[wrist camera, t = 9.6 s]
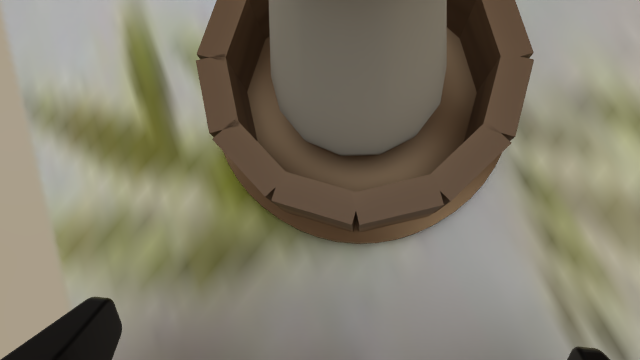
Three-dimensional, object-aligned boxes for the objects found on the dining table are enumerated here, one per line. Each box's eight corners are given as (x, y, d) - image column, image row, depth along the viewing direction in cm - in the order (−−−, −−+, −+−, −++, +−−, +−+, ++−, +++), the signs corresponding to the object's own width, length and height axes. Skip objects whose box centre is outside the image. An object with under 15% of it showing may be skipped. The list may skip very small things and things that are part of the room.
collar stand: (464, 281, 17) (497, 286, 13) (184, 196, 19) (135, 176, 15) (532, 10, 19) (579, -61, 15) (271, -47, 21) (249, -126, 16)
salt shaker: (259, 134, 18) (6, -204, 5) (320, 10, 19) (236, -556, 6) (398, 195, 17) (522, -32, 4) (457, 61, 18) (712, -476, 5)
